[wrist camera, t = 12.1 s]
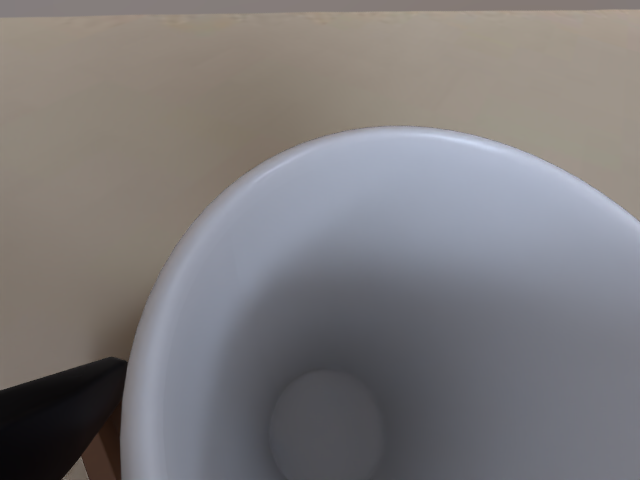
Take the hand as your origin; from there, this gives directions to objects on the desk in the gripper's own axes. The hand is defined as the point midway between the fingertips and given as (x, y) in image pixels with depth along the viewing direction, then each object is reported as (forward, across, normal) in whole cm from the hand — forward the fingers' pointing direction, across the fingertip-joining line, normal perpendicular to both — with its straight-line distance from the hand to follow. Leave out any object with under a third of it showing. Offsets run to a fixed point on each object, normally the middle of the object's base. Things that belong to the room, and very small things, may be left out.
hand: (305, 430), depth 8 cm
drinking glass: (+7, -1, +6) cm, 9 cm away
